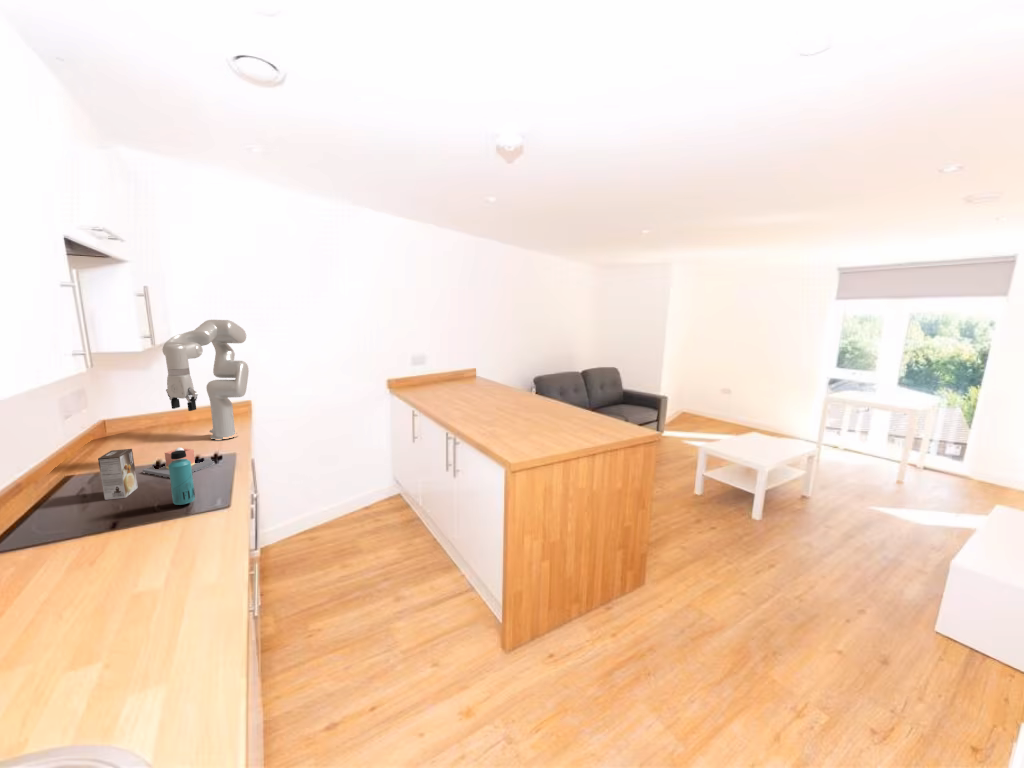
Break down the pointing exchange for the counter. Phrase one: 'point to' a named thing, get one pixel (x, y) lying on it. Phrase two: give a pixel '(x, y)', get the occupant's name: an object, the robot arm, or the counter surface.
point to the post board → (165, 469)
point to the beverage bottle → (181, 479)
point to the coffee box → (118, 474)
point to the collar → (188, 456)
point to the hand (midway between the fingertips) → (184, 409)
